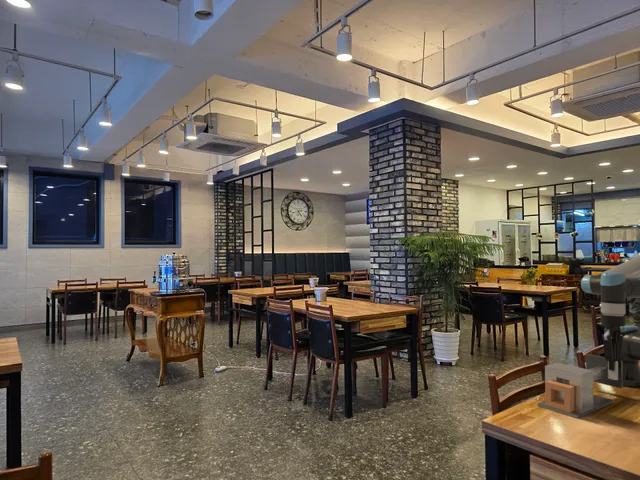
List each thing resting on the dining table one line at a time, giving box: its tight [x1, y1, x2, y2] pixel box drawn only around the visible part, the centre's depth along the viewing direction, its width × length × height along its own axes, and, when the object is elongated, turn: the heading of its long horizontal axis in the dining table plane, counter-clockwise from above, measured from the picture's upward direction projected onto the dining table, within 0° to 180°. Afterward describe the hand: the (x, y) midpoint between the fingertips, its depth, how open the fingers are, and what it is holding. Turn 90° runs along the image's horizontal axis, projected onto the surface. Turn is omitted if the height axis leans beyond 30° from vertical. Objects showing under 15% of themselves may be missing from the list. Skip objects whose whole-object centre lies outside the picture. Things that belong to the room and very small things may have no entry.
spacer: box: [544, 380, 574, 413], centre depth 143 cm, size 3×8×8 cm, turn 35°
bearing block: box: [537, 362, 614, 419], centre depth 149 cm, size 26×13×13 cm, turn 124°
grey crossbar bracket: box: [564, 353, 624, 389], centre depth 154 cm, size 27×12×10 cm, turn 124°
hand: (613, 378), depth 155 cm, fingers closed
